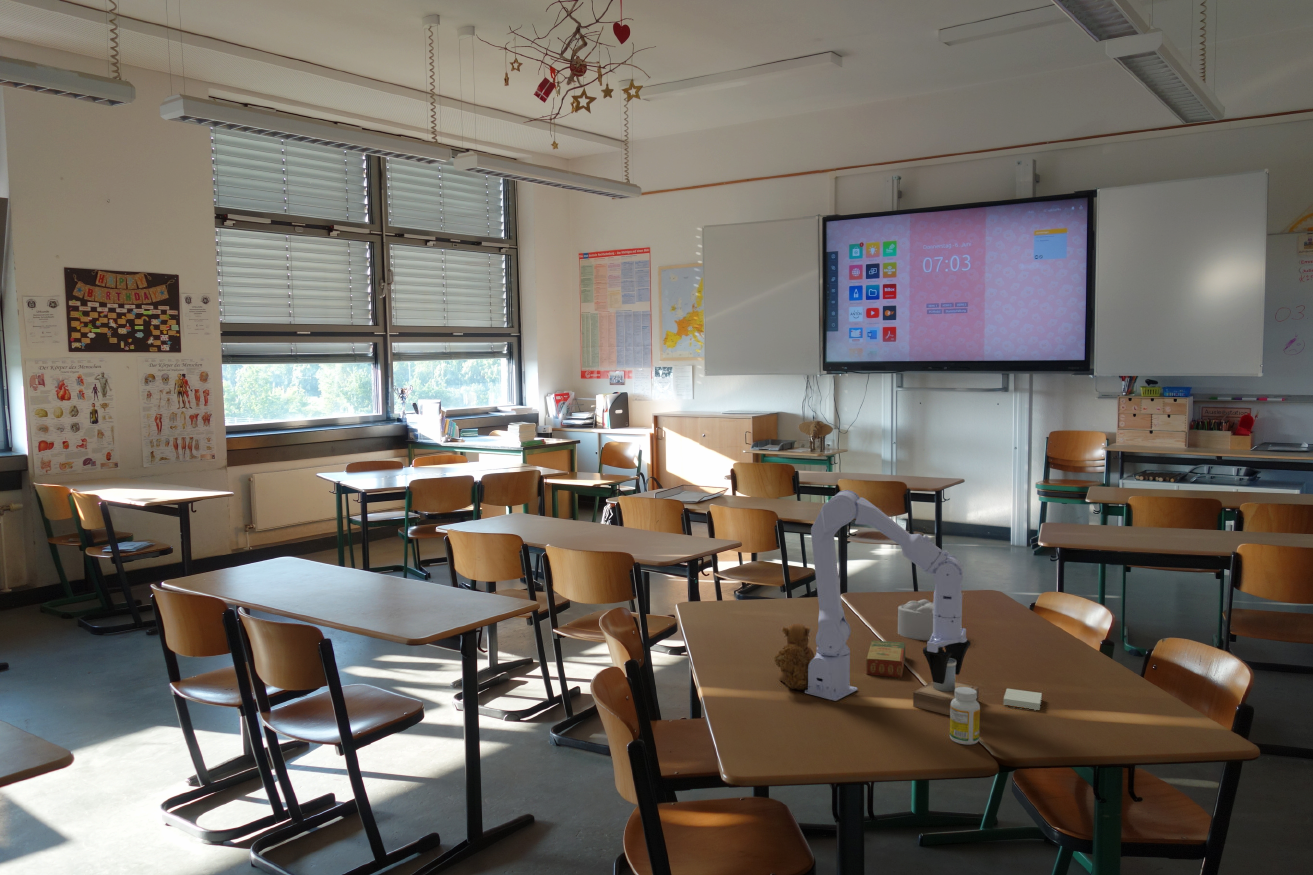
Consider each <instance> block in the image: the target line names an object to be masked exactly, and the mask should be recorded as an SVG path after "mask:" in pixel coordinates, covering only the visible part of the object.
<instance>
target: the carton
mask: <svg viewBox="0 0 1313 875" xmlns="http://www.w3.org/2000/svg"><path fill="white" fill-rule="evenodd" d="M905 662H906V643H905V642H902V641H889V640H888V641H887V640H871V642H870V646H869V650H868V653H867V657H866V661H865V666H866V668H865V669H866V672H865V673H866V675H872V676H881V677H882V676H883V677H894V678H902V677H903V672H904V666H905Z"/></svg>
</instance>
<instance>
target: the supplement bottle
mask: <svg viewBox="0 0 1313 875" xmlns="http://www.w3.org/2000/svg"><path fill="white" fill-rule="evenodd" d="M954 695H955V699H953V700H952V701H951V706H950V715H949V717H950V718H949V738H950V739H951V740H952V742H955V743H956V744H960V745H966V746H967V745H968V746H969V745H975V744H977V743H979V741H980V724H981V723H980V721H981V720H980V719H981V714H980V713H981V706H980V703H979V701H976V698H977V691H976V690H974V689H972V688H968V687H958V688H956V689H955V694H954Z"/></svg>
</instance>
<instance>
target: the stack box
mask: <svg viewBox="0 0 1313 875" xmlns="http://www.w3.org/2000/svg"><path fill="white" fill-rule="evenodd" d="M958 687H968V688H972V689H974V690H976V691H977V698H976V701H977V702H979V693H980V691H979V689H980V688H979V686H975V685H972V684H966V683H962V682H960V681H959V682H958V681H955V689H956V688H958ZM954 694H955V690H954V691H951V692H944V691H939V690H936V689H934V688H933V680H932V681H931V682H929V683H927V684H925V685H924V686H922V687H920V688H918V689H917V690H915V691H913V694H912V695H913V696H912V699H913V700H912V706H913V707H914V708H919V709H922V710H923V709H924V710H926V711H931V712H935V713H938V714H943V715H947V716H950V706H951V701H952V700H953V699H955V695H954Z"/></svg>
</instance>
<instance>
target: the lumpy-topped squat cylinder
mask: <svg viewBox="0 0 1313 875" xmlns="http://www.w3.org/2000/svg"><path fill="white" fill-rule="evenodd" d="M933 605H934V601H933V602H931V601H930V600H929V599H925V598H924V599H920V600H918V601H917V600H909V601H908V602H906V603H905V604H901V605H899V606H898V607H897V611H898V612H897V634H898V635H899V634H900V635H899V636H901V637H904V638H907V639H912V640H918V641H919V640H920V641H930V638H931V636H932V633H933Z"/></svg>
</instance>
